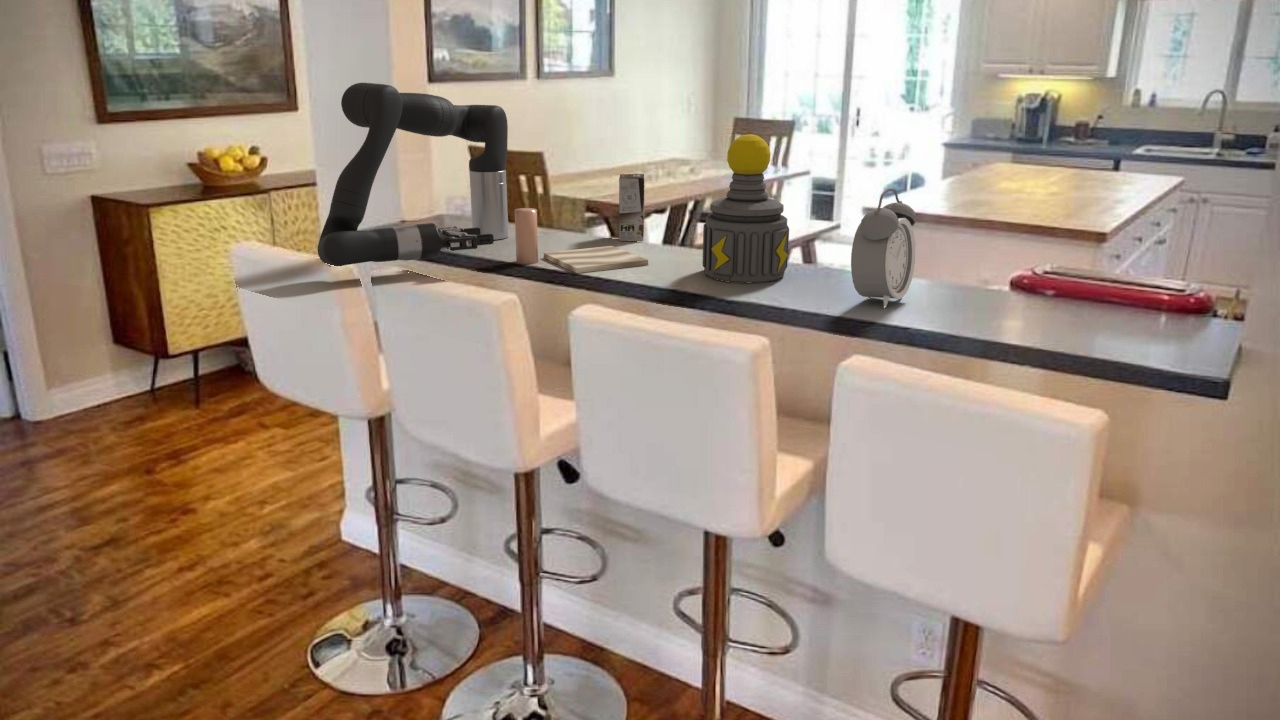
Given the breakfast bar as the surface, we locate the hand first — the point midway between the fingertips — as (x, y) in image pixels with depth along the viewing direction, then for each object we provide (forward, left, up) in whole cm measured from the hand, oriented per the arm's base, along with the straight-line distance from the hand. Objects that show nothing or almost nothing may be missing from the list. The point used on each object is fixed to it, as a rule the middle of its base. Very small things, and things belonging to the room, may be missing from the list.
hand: (486, 235), depth 214 cm
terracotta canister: (0, +10, -7) cm, 12 cm away
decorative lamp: (+34, +47, -7) cm, 58 cm away
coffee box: (-14, +45, -7) cm, 47 cm away
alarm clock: (+66, +57, -7) cm, 87 cm away
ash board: (+7, +24, -7) cm, 26 cm away
